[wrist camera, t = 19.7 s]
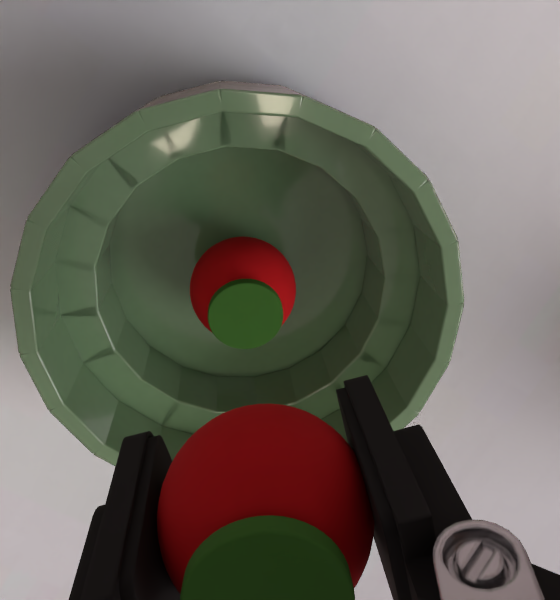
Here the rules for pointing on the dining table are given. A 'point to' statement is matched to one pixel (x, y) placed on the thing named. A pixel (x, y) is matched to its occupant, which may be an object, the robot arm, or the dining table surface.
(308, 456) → the strawberry
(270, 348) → the fruit bowl
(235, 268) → the red ball green cap
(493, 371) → the dining table surface
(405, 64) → the dining table surface
